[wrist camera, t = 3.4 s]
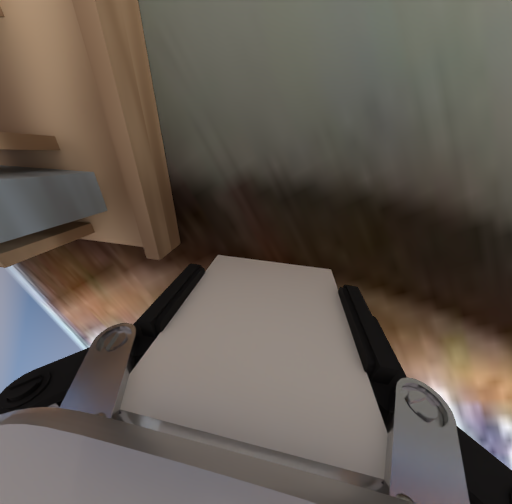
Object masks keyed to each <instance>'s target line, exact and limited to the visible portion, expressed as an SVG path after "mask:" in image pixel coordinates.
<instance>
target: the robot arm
mask: <svg viewBox="0 0 512 504" xmlns="http://www.w3.org/2000/svg"><path fill="white" fill-rule="evenodd" d="M204 274H205V269H204V268H202V266H201V265H197V264H189V265H188V266H187V268H186V269H185V270H184V271H183V272H182V273H181V274H180V275H179V276H178V277H177V278H176V279H175V280H174V281H173V283H172V284H171V285H170V286H169V287H168V288H167V289H166V290H165V291H164V292H163V293H162V294H161V295H160V296H159V297H158V299H157V300H156V301H155V302H154V303H153V304H152V305H151V306H150V307H149V308H148V309H147V310H146V311H145V312H144V314H143V315H142V316H141V317H140V318H139V319H138V320H137V321H136V322H135V323H134V324H133V325H132V324H129V323H121V324H117V325H114V326H112V327H110V328H107V329H106V330H104V331H103V332H101V333H100V334H99V335H98V336H97V337H96V338H95V340H94V341H93V343H92V344H91V346H90V348H87V349H85V350H82V351H80V352H77V353H75V354H72V355H70V356H67V357H65V358H63V359H60V360H58V361H55V362H53V363H50V364H47V365H45V366H43V367H40V368H38V369H35V370H33V371H31V372H29V373H27V374H24V375H23V376H21V377H20V378H18V379H17V380H15V381H14V382H13V383H11V384H10V385H9V386H8V387H6V388H5V389H4V391H3V392H2V393H1V394H0V504H512V470H510V469H509V468H508V467H507V466H505V465H504V464H503V463H502V462H501V461H499V460H498V459H497V458H496V457H494V456H493V455H492V454H491V453H489V452H488V451H487V450H486V449H484V448H483V447H482V446H481V445H479V444H478V443H477V442H476V441H475V440H473V439H472V438H471V437H470V436H468V435H467V434H466V433H465V432H463V431H462V430H461V429H460V428H458V427H457V426H456V422H455V419H454V416H453V413H452V411H451V410H450V408H449V406H448V405H447V403H446V402H445V401H444V400H443V399H442V398H441V396H440V395H439V394H437V393H436V392H435V391H434V390H433V389H432V388H430V387H429V386H427V385H426V384H424V383H423V382H420V381H418V380H416V379H413V378H408V377H406V375H405V373H404V371H403V369H402V367H401V365H400V363H399V361H398V359H397V357H396V356H395V354H394V352H393V350H392V348H391V346H390V344H389V342H388V340H387V338H386V336H385V334H384V332H383V330H382V328H381V327H380V325H379V323H378V321H377V319H376V318H375V317H374V316H372V314H371V312H370V310H369V308H368V306H367V304H366V302H365V300H364V298H363V296H362V294H361V292H360V290H359V288H358V287H356V286H349V285H344V286H343V288H342V287H340V288H339V290H338V294H339V297H340V300H341V303H342V306H343V309H344V312H345V315H346V318H347V321H348V324H349V327H350V330H351V333H352V336H353V339H354V342H355V345H356V348H357V351H358V354H359V357H360V360H361V363H362V366H363V369H364V372H367V375H368V378H369V381H370V384H371V387H372V390H373V393H374V396H375V398H376V401H377V404H378V407H379V410H380V413H381V416H382V419H383V422H384V425H385V427H386V430H387V433H388V437H387V449H386V461H385V473H384V480H382V481H381V483H382V484H383V486H382V487H380V488H379V489H377V490H375V491H373V490H370V489H366V488H363V487H359V486H356V485H352V484H348V483H345V482H341V481H338V480H334V479H331V478H327V477H323V476H320V475H316V474H313V473H309V472H306V471H302V470H298V469H295V468H291V467H288V466H284V465H281V464H277V463H273V462H270V461H266V460H262V459H259V458H255V457H251V456H248V455H244V454H241V453H237V452H233V451H230V450H226V449H222V448H219V447H215V446H211V445H208V444H204V443H200V442H197V441H193V440H189V439H186V438H182V437H178V436H175V435H171V434H167V433H163V432H160V431H156V430H152V429H148V428H145V427H141V426H137V425H134V424H130V423H126V422H124V420H123V419H122V417H121V416H120V415H119V414H121V413H122V412H121V410H120V407H121V403H122V399H123V396H124V392H125V388H126V385H127V381H128V377H129V374H130V373H131V371H132V370H133V369H134V367H135V366H136V365H137V363H138V362H139V361H140V359H141V358H142V357H143V355H144V354H145V353H146V351H147V350H148V349H149V347H150V346H151V344H152V343H153V342H154V340H155V339H156V338H157V336H158V335H159V334H160V332H162V331H163V330H164V329H165V327H166V326H167V325H168V323H169V322H170V320H171V319H172V318H173V316H174V315H175V314H176V312H177V311H178V310H179V308H180V307H181V305H182V304H183V303H184V301H185V300H186V299H187V297H188V296H189V294H190V293H191V292H192V290H193V289H194V288H195V286H196V285H197V284H198V282H199V281H200V279H201V278H202V277H203V275H204Z"/></svg>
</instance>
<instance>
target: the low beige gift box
mask: <svg viewBox="0 0 512 504" xmlns="http://www.w3.org/2000/svg"><path fill="white" fill-rule="evenodd" d="M120 410H121V412H122V413H121V414H119V415H120V416H121V417H122V419H123V420H124V422H126V423H130V424H134V425H137V426H141V427H145V428H148V429H152V430H156V431H160V432H163V433H167V434H171V435H175V436H178V437H182V438H186V439H189V440H193V441H197V442H200V443H204V444H208V445H211V446H215V447H219V448H222V449H226V450H230V451H233V452H237V453H241V454H244V455H248V456H251V457H255V458H259V459H262V460H266V461H270V462H273V463H277V464H281V465H284V466H288V467H291V468H295V469H298V470H302V471H306V472H309V473H313V474H316V475H320V476H323V477H327V478H331V479H334V480H338V481H341V482H345V483H348V484H352V485H356V486H359V487H363V488H366V489H370V490H373V491H375V490H377V489H379V488H380V487H382V486H383V484H382V483H381V481H382V480H384V473H385V461H386V449H387V437H388V433H387V430H386V427H385V425H384V422H383V419H382V416H381V413H380V410H379V407H378V404H377V401H376V398H375V396H374V393H373V390H372V387H371V384H370V381H369V378H368V375H367V372H364V369H363V366H362V363H361V360H360V357H359V354H358V351H357V348H356V345H355V342H354V339H353V336H352V333H351V330H350V327H349V324H348V321H347V318H346V315H345V312H344V309H343V306H342V303H341V300H340V297H339V294H338V288H337V285H336V282H335V279H334V277H333V274H332V271H331V269H324V268H316V267H308V266H301V265H293V264H285V263H277V262H270V261H262V260H254V259H246V258H239V257H231V256H223V255H217V257H216V258H215V259H214V261H213V262H212V263H211V265H210V266H209V267H208V269H207V270H206V271H205V274H204V275H203V277H202V278H201V279H200V281H199V282H198V284H197V285H196V286H195V288H194V289H193V290H192V292H191V293H190V294H189V296H188V297H187V299H186V300H185V301H184V303H183V304H182V305H181V307H180V308H179V310H178V311H177V312H176V314H175V315H174V316H173V318H172V319H171V320H170V322H169V323H168V325H167V326H166V327H165V329H164V330H163V331H162V332H160V334H159V335H158V336H157V338H156V339H155V340H154V342H153V343H152V344H151V346H150V347H149V349H148V350H147V351H146V353H145V354H144V355H143V357H142V358H141V359H140V361H139V362H138V363H137V365H136V366H135V367H134V369H133V370H132V371H131V373H130V374H129V377H128V381H127V385H126V388H125V392H124V396H123V399H122V403H121V407H120Z"/></svg>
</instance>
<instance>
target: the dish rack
mask: <svg viewBox="0 0 512 504" xmlns="http://www.w3.org/2000/svg"><path fill="white" fill-rule="evenodd" d="M77 239H86V240H93V241H101V242H109V243H116V244H124V245H131V246H139V247H143V248H144V251H145V254H146V258H148V259H155V260H161V259H162V258H163V257H165V256H166V255H167V254H168V253H170V252H171V251H172V250H173V249H175V248H176V247H177V246H178V245H180V244H181V242H180V237H179V231H178V225H177V220H176V214H175V208H174V203H173V197H172V191H171V186H170V180H169V174H168V169H167V163H166V157H165V152H164V146H163V140H162V135H161V129H160V123H159V117H158V112H157V106H156V100H155V95H154V89H153V83H152V78H151V72H150V66H149V61H148V55H147V49H146V44H145V38H144V32H143V27H142V21H141V15H140V10H139V4H138V0H0V267H4V268H6V267H9V266H11V265H14V264H16V263H19V262H21V261H24V260H26V259H29V258H31V257H34V256H36V255H39V254H41V253H44V252H47V251H49V250H52V249H54V248H57V247H59V246H62V245H64V244H67V243H69V242H72V241H74V240H77Z"/></svg>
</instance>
